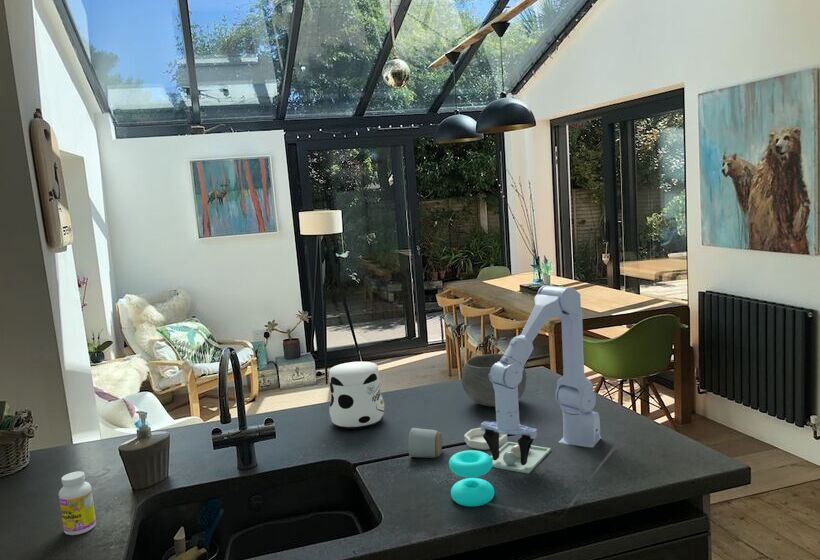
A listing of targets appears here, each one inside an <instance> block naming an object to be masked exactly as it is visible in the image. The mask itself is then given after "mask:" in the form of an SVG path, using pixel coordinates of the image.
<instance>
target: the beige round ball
mask: <svg viewBox="0 0 820 560" xmlns="http://www.w3.org/2000/svg"><path fill="white" fill-rule="evenodd" d="M511 451H512V452H514V453H515V454H516V456H517V458H520V457H521V453H520V447H519V445H514V446H513V447H512V448H511Z"/></svg>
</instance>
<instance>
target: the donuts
mask: <svg viewBox="0 0 820 560" xmlns="http://www.w3.org/2000/svg"><path fill="white" fill-rule="evenodd" d="M490 456H491V455H489V454H488V453H486V452H484V451H481V450H474V449H470V450H469V449H468V450H463V451H459V452H456V453H454V454H453V455H452V456H451V457H450V458H449V459H448V467H449V469H450V471H451V472H452V473H453V474H455V475H456V476H459V477H461V478H462V477H463V478H462V479H461V480H458V481H456V482H455V483H454V484H453V485H452V487H451V488H450V496H451V498H452V500H453V501H454V502H455V503H457V504H458V505H460V506H465V507H480V506H484V505H486V504H488V503H489V502H491V501H492V499H494V497H495V488H494V486H493V485H492V484H491V483H490V482H489V481H487V480H486V479H482V478H479V477H482V476H485V475H486V474H487V473H489V472H490V471H491V469H492V468H493V467H492V465H493V461H492V458H491V457H490Z"/></svg>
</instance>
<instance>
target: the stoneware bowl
mask: <svg viewBox="0 0 820 560" xmlns="http://www.w3.org/2000/svg"><path fill="white" fill-rule="evenodd" d="M483 434H485V431H481V427H477V428H471V429H470V430H468V431H467V432H466V433H465V434H464V433H463V435H464V436H463V437H464V442H465V443H466V445H467V446H468V447H469V448H473V449H477V450H490V448H489V446H488V444H487V442H486V441H485V439H484V438H483ZM506 442H509V440H508V434H506V435H503V434H499V448H501V447H502V446H503V445H504V444H505V443H506Z"/></svg>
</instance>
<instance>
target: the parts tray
mask: <svg viewBox="0 0 820 560" xmlns="http://www.w3.org/2000/svg"><path fill="white" fill-rule="evenodd" d="M514 445H518V442H512V441H507V442H506V443H505V444H504V445H502V446H501V447H499V458H498V459H497V460H493V456H492V454H491V455H489V456H490V457H491V458H492V461H493V465H492V468H496V469H501V470H507V471H514V472H518V473H524V474H528V475H529V474H530V473H531V472H532V471H533V470H534V469H535V468H536V467H537V466H538V465H539V464H540V463H541V462H542V461H543V459H544V458H546V457H547V455H548V454H550V452H551V451H552V449H551V447H546V446H545V447H544V446H538V445H532V444H531V447H530V450H529V454H528V459H527V463H526V464H525V465H521V457H520V458H517V460H516V462H515V464H513V465H508V464H506V463H505V462H504V460H503V456H504V454H505V453H506V452H508V451H511V448H512V447H513V446H514Z"/></svg>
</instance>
